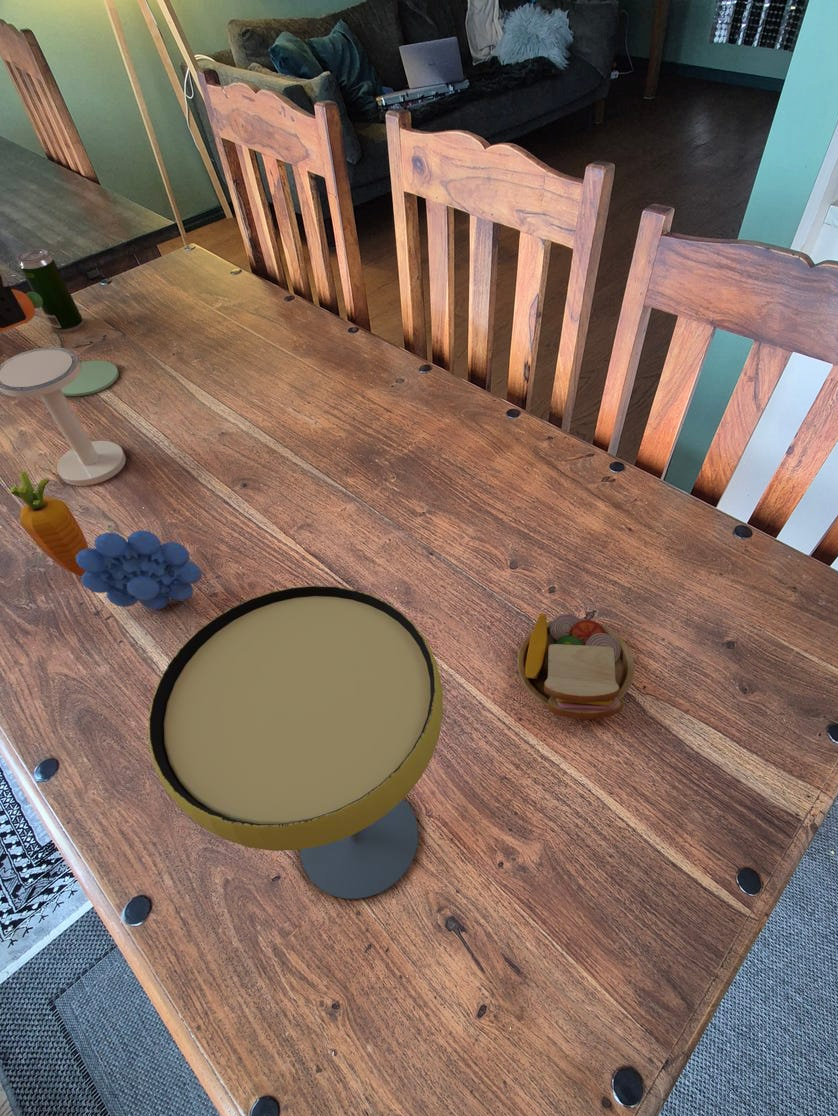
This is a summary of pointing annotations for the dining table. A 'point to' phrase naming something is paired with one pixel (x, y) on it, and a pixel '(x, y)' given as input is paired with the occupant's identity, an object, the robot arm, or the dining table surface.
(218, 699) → the cocktail glass
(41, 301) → the carrot
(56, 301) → the beer can
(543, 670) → the toy sandwich meal
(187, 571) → the blue knobbed flower
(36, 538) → the carrot
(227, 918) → the dining table surface
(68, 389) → the mat
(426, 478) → the dining table surface
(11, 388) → the cake stand
